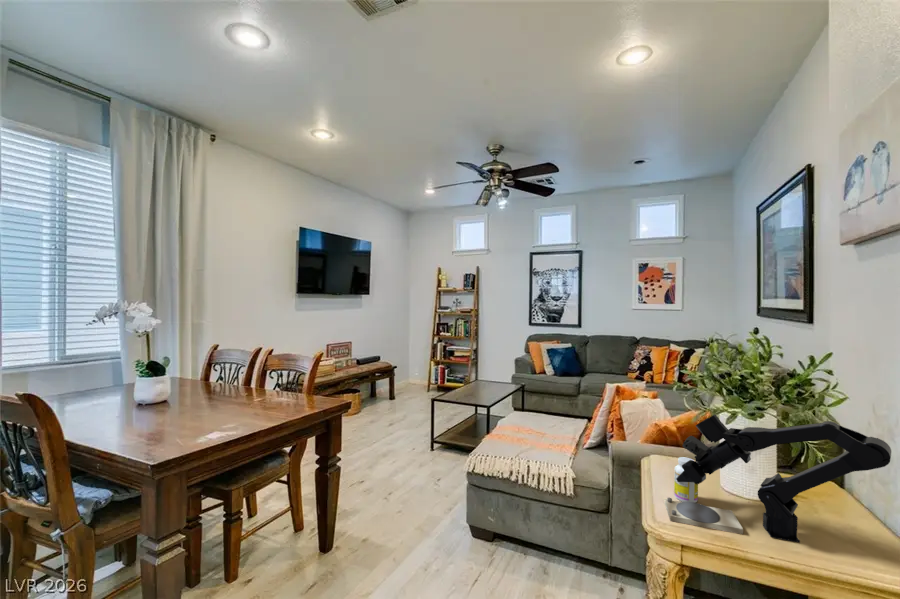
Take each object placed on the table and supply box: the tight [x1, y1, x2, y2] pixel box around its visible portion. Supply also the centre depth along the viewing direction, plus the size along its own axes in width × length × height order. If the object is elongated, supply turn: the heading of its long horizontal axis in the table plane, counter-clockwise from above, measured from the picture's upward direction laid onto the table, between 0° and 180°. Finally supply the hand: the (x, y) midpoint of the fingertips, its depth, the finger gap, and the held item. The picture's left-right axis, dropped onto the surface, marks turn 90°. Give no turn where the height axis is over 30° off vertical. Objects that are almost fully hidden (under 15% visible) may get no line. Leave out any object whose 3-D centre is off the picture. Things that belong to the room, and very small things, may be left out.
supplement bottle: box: [673, 456, 699, 503], centre depth 130 cm, size 7×7×13 cm
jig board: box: [664, 497, 744, 535], centre depth 119 cm, size 18×11×2 cm, turn 70°
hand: (681, 477), depth 131 cm, fingers closed on supplement bottle, 7 cm apart
